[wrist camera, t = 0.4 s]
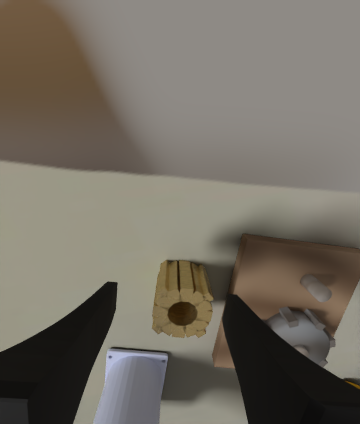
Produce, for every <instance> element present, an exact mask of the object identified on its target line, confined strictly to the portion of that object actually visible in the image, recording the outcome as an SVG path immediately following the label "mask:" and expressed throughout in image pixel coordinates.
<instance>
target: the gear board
mask: <svg viewBox="0 0 360 424" xmlns="http://www.w3.org/2000/svg"><path fill="white" fill-rule="evenodd" d="M359 279H360V250H359V249H356V248H348V247H341V246H333V245H325V244H318V243H310V242H302V241H295V240H287V239H280V238H272V237H264V236H257V235H249V234H242V238H241V242H240V246H239V250H238V254H237V258H236V262H235V266H234V270H233V274H232V278H231V282H230V286H229V290H228V294H236V295H238V296H239V297H240V298H241V299H242V300H243V301H244V302H245V303H246V304H247V305H248V306H249V307H250V308H251V309H252V311H253V312H254V313H255V314H256V315H257V316H258V317H259V318H260V319H261V320H262V321H264V322H265V323H266V324H267V325H268V326H269V327H270V328H271V329H272V330H273V331H274V332H275V333H277V334H278V335H279V336H280V337H281V338H282V339H284V340H285V341H286V342H287V343H289V344H290V345H291V346H292V347H294V348H295V349H296V350H298V351H299V352H301V353H302V354H303V355H305V356H306V357H308V358H309V359H310V360H312V361H313V362H315V363H316V364H318V365H319V366H321V367H322V368H323V367H324V366H325V365H326V364H327V363H328V362H327V361H326V359H325V358H326V357H327V355H328V353H329V349H330V348H331V347H335V339H334V338H333V337H334V334H335V332H336V330H337V328H338V326H339V323H340V321H341V319H342V317H343V314H344V312H345V310H346V308H347V306H348V303H349V301H350V299H351V297H352V295H353V292H354V290H355V288H356V286H357V284H358V281H359ZM228 294H227V295H228ZM226 299H227V298H226ZM225 304H226V302H225ZM224 308H225V306H224ZM223 312H224V310H223ZM222 316H223V314H222ZM212 357H213V362H214V367H223V368H235V366H234V363H233V360H232V357H231V354H230V351H229V347H228V344H227V341H226V338H225V334H224V329H223V323H222V318H221V322H220V326H219V330H218V334H217V338H216V342H215V346H214V350H213V354H212Z"/></svg>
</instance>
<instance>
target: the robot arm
mask: <svg viewBox="0 0 360 424" xmlns="http://www.w3.org/2000/svg"><path fill="white" fill-rule="evenodd" d="M116 298H117V282H107V283H105V284H104V285H103V286H102V287H101V288H100V289H99V290H98V291H96V292H95V293H94V294H93V295H92V296H91V297H90V298H88V299H87V300H86V301H85V302H84V303H82V304H81V305H80V306H79V307H77V308H76V309H75V310H73V311H72V312H71V313H69V314H68V315H67V316H65V317H64V318H62V319H61V320H59V321H58V322H56V323H55V324H53V325H51V326H50V327H48V328H46V329H45V330H43V331H41V332H39V333H38V334H36V335H34V336H32V337H30V338H29V339H27V340H25V341H23V342H21V343H19V344H17V345H15V346H13V347H11V348H8V349H6V350H4V351H2V352H0V424H73V422H74V419H75V416H76V413H77V410H78V407H79V404H80V401H81V398H82V395H83V392H84V389H85V386H86V383H87V381H88V378H89V375H90V372H91V370H92V367H93V365H94V362H95V360H96V358H97V356H98V353H99V351H100V349H101V347H102V344H103V342H104V340H105V338H106V335H107V333H108V331H109V328H110V326H111V323H112V320H113V317H114V313H115V310H116ZM222 323H223V329H224V334H225V338H226V341H227V344H228V347H229V351H230V354H231V357H232V360H233V363H234V366H235V370H236V373H237V376H238V380H239V383H240V387H241V392H242V396H243V401H244V405H245V410H246V415H247V420H248V424H360V389H358V388H357V387H355V386H353V385H351V384H349V383H348V382H346V381H344V380H342V379H341V378H339V377H337V376H335V375H334V374H332V373H330V372H329V371H327V370H326V369H324V368H322V367H321V366H319V365H318V364H316V363H315V362H313V361H312V360H310V359H309V358H308V357H306V356H305V355H303V354H302V353H301V352H299V351H298V350H296V349H295V348H294V347H292V346H291V345H290V344H289V343H287V342H286V341H285V340H284V339H282V338H281V337H280V336H279V335H278V334H277V333H275V332H274V331H273V330H272V329H271V328H270V327H269V326H268V325H267V324H266V323H265V322H264V321H262V320H261V319H260V318H259V317H258V316H257V315H256V314H255V313H254V312H253V311H252V309H251V308H250V307H249V306H248V305H247V304H246V303H245V302H244V301H243V300H242V299H241V298H240V297H239V296H238V295H236V294H228V295H227V299H226V304H225V308H224V312H223V316H222ZM167 361H168V354H166V353H159V352H147V351H135V350H123V349H109V350H108V351H107V359H106V374H105V386H104V389H103V392H102V395H101V399H100V402H99V405H98V408H97V412H96V415H95V418H94V421H93V424H159V419H160V402H161V396H162V390H163V384H164V379H165V373H166V367H167Z"/></svg>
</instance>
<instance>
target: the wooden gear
mask: <svg viewBox="0 0 360 424" xmlns="http://www.w3.org/2000/svg"><path fill="white" fill-rule="evenodd" d="M213 299H214V297H213V294H212V290H211V287H210V283H209V280H208V276H207V273H206V269H205V268H204V267H203V265H202V264H200V265H198V266H197V265H195V264H194V263H192V262H191V263H190V262H189V261H183V260H179V264H178V262H177V260H176V261H173V262H171V263H169V262H168V260H166V261H164V262H163V263H161V266H160V272H159V274H158V278H157V285H156V293H155V300H154V307H153V314H152V316H153V326H152V329H153V330H154V331H155V332H156V333H157V334H159V333H161V332H164V333H166V334H167V335H169V336H170V335H171V334H172V337H181V338H184V336H185V334H186V336H187V337H190V336H193V335H196V336H197V337H198V338H199V337H201V336H203V335H204V334H206V330H205V328H206V327H207V326H208V325H209V322H210V321H211V317H212V312H213V311H212V306H211V302H210V301H212V300H213Z"/></svg>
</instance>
